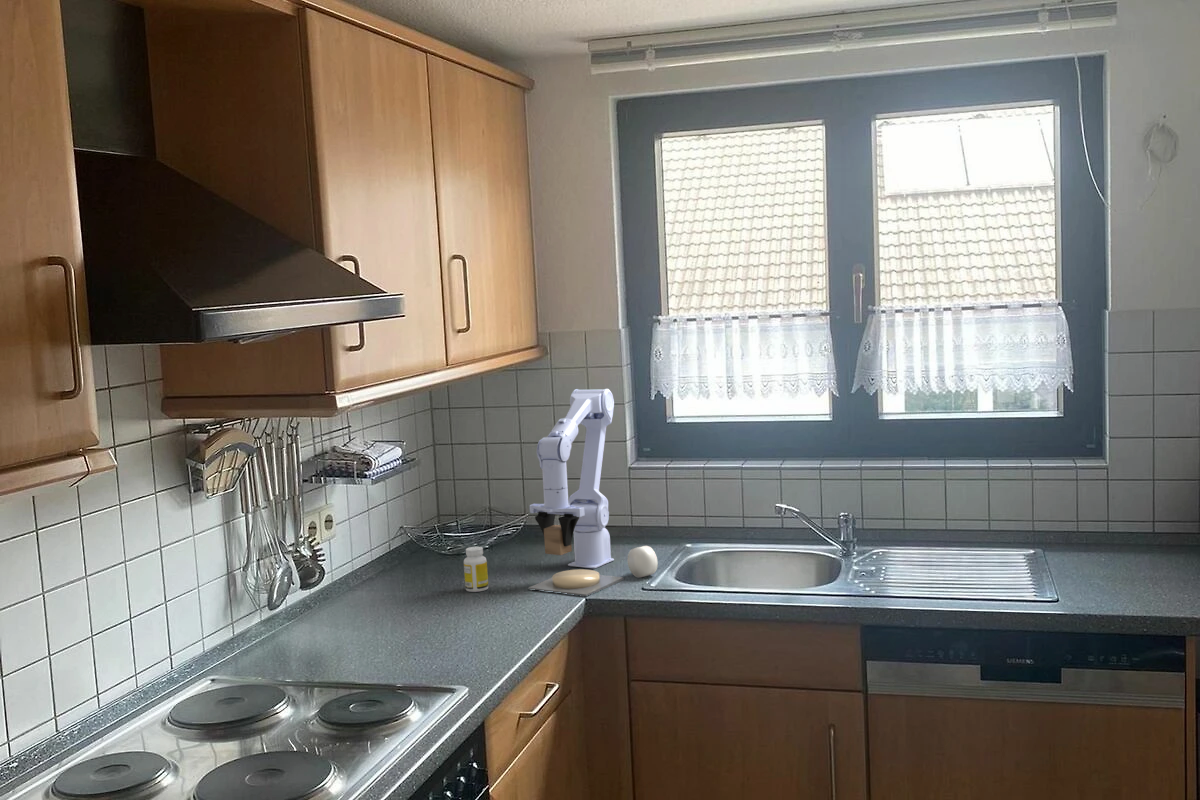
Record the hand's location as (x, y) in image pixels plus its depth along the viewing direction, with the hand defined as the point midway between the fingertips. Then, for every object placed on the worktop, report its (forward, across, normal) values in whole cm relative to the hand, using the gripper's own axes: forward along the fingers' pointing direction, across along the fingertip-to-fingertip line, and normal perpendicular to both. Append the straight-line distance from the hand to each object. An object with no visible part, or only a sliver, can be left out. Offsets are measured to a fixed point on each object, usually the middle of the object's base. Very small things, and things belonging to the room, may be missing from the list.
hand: (558, 544), depth 278 cm
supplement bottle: (+9, -15, -13) cm, 22 cm away
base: (+9, +5, -1) cm, 10 cm away
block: (+2, 0, 0) cm, 2 cm away
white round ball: (+6, +15, +10) cm, 19 cm away
